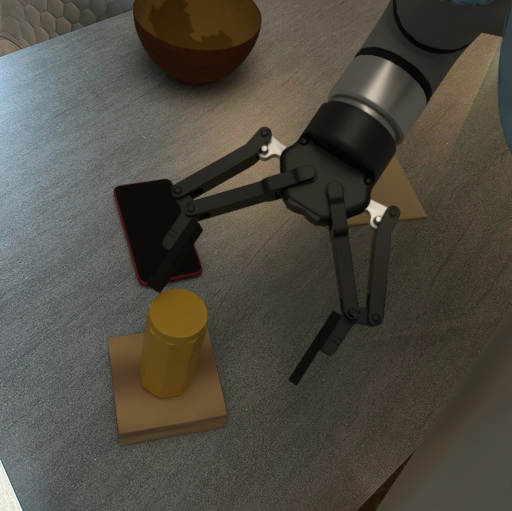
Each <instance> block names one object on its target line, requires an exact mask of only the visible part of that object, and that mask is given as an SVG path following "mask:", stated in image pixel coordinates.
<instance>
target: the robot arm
mask: <svg viewBox="0 0 512 511" xmlns="http://www.w3.org/2000/svg"><path fill="white" fill-rule="evenodd" d="M482 34H486V35H489V36H495V37H500V38H502V40H501V43H500V48H499V56H498V67H497V86H496V87H497V107H498V108H497V110H498V115H499V116H498V117H499V122H500V126H501V129H502V133H503V137H504V140H505V144H506V146H507V148H508V150H509V152H510V154H511V155H512V0H389V1H388V4H387V5H386V7H385V9H384V10H383V13H382V14H381V16H380V17H379V19H378V21H377V22H376V23H375V25H374V27H373V28H372V30H371V31H370V32H369V34H368V37H367V38H366V39H365V41H364V42H363V44H362V46H361V47H360V49H359V50H358V51H357V52H356V54H355V55H354V57H353V58H352V59H351V61H350V62H349V63H348V64H347V66H346V68H345V69H344V70H343V72H342V73H341V75H340V77H339V78H338V79H337V81H336V82H335V84H333V86H332V88H331V90H330V91H329V92H328V94H327V101H326V102H323V103H322V104H320V106H319V107H318V109H317V110H316V112H315V114H314V115H313V117H312V118H311V120H310V121H309V123H308V124H307V126H306V127H305V128H304V129H303V131H302V133H301V134H300V136H299V137H298V139H297V140H296V141H295V142H294V143H293V144H291V145H289V146H286V145H285V144H284V143H282V142H281V141H280V140H278V139H277V137H275V136H273V132H272V129H271V128H270V127H268V126H261V127H260V128H258V129H257V131H256V132H255V133H254V134H253V135H252V136H251V138H250V139H248V141H247V142H246V143H245V144H244V145H241V146H240V147H238V148H236V149H235V150H233V151H231V152H229V153H227V154H226V155H224V156H222V157H220V158H219V159H217V160H215V161H213V162H211V163H210V164H208V165H205V167H202V168H201V169H199V170H197V171H195V172H194V173H192V174H190V175H188V176H187V177H184V178H183V179H181V180H179V181H178V182H175V183H173V186H172V187H171V194H172V196H173V197H174V199H175V201H176V202H177V203H178V205H179V206H180V208H181V213H180V215H179V217H178V218H177V220H176V221H175V223H174V224H173V226H172V227H171V228H170V230H169V231H168V233H167V234H166V236H165V237H164V239H163V242H162V246H163V247H164V248H165V249H167V250H168V251H169V252H168V254H167V255H166V257H165V258H164V259H163V261H162V262H161V264H160V265H159V267H158V268H157V270H156V271H155V273H154V274H153V275H152V277H151V278H150V280H149V281H148V283H147V284H146V285H147V287H148V288H150V289H152V290H154V291H155V292H157V293H158V294H160V293H162V292H163V290H164V289H165V287H166V286H167V284H168V283H169V282H170V281H169V280H170V278H171V277H172V275H173V274H174V273H175V271H176V270H177V268H178V267H179V265H180V264H181V262H182V261H183V259H184V258H185V257H186V255H187V254H188V252H189V251H190V249H191V248H192V246H193V245H195V243H196V242H197V241H198V239H200V238H199V237H200V236H201V235H202V233H203V232H204V229H203V227H202V225H201V223H200V222H202V221H205V220H208V219H212V218H215V217H219V216H222V215H226V214H229V213H232V212H236V211H239V210H242V209H247V208H249V207H253V206H256V205H259V204H264V203H271V202H275V201H278V200H282V202H283V204H284V205H285V208H286V209H288V210H289V211H290V212H292V213H294V214H298V215H301V216H303V217H304V218H305V219H306V220H307V221H308V222H309V223H310V224H311V225H313V226H315V227H326V226H328V228H327V229H328V233H329V240H330V244H331V250H332V257H333V265H334V271H335V279H336V286H337V292H338V293H337V294H338V299H339V307H340V313H339V312H337V311H336V310H332V311H331V312H330V314H329V315H328V316H327V318H326V320H325V321H324V323H323V324H322V326H321V327H320V329H319V331H318V332H317V334H316V335H315V337H314V339H313V340H312V342H311V343H310V345H309V346H308V348H307V349H306V351H305V353H304V354H303V356H302V357H301V359H300V360H299V362H298V363H297V365H296V366H295V368H294V370H293V371H292V373H291V374H290V376H289V377H288V382H290V383H292V384H293V385H294V386H298V385H299V383H300V382H301V380H302V379H303V377H304V376H305V373H306V372H307V371H308V369H309V368H310V366H311V365H312V363H313V362H314V361H315V358H316V357H317V355H318V353H319V352H322V353H323V354H324V355H326V356H327V357H331V356H333V355H334V354H335V353H337V351H338V349H339V347H340V346H341V344H342V343H343V341H344V340H345V339H346V337H347V335H348V334H349V332H350V330H351V328H352V327H353V326H354V325H361V326H366V327H368V328H375V327H378V326H380V325H382V324H383V322H384V319H385V308H386V297H387V284H388V274H389V262H390V252H391V239H392V233H393V231H394V229H395V227H396V225H397V223H398V222H399V221H398V219H399V217H400V209H399V208H398V207H397V206H394V205H392V206H389V207H386V206H384V205H382V204H380V203H378V202H376V201H374V200H372V199H371V191H372V189H373V187H374V186H375V184H376V183H377V181H378V180H379V178H380V177H381V175H382V173H383V172H384V170H385V169H386V167H387V166H388V164H389V163H390V161H391V160H392V158H393V157H394V155H396V153H397V147H398V146H401V145H402V144H403V142H404V141H405V140H406V139H407V136H408V135H409V134H410V132H411V131H412V129H413V127H414V126H415V124H416V123H417V121H418V120H419V118H420V117H421V115H422V114H423V112H424V110H425V109H426V108H427V106H428V104H429V102H430V101H431V98H432V97H433V95H434V94H435V93H436V91H437V89H438V88H439V87H440V85H441V84H442V82H443V81H444V79H445V78H446V77H447V75H448V74H449V72H450V71H451V69H452V68H453V66H454V65H455V63H456V62H457V61H458V60H459V58H460V57H461V56H462V55H463V53H464V52H465V51H466V50H467V49H468V48H469V47H470V46H471V44H473V42H475V41H476V40H477V38H479V36H480V35H482ZM275 158H276V159H278V160H279V173H276V174H272V175H269V176H267V177H264V178H263V179H261V180H257V181H255V182H251V183H249V184H244V185H242V186H238V187H235V188H231V189H228V190H224V191H221V192H218V193H214V194H211V195H207V196H204V197H201V196H202V195H204V194H206V193H207V192H209V191H211V190H213V189H214V188H217V187H218V186H220V185H221V184H223V183H225V182H227V181H229V180H230V179H232V178H234V177H236V176H238V175H240V174H241V173H243V172H244V171H247V170H248V169H250V168H252V167H253V166H254V165H256V164H257V163H258V162H259V161H261V162H268V161H270V160H271V159H275ZM199 197H200V198H199ZM363 212H365V213H367V214H368V216H369V224H368V227H369V229H370V230H372V231H374V232H373V234H372V237H371V243H370V244H371V246H370V252H369V253H370V254H369V265H368V275H367V287H366V298H365V307H360V304H359V298H358V291H357V283H356V277H355V276H356V275H355V270H354V264H353V257H352V256H353V255H352V250H351V242H350V236H349V226H348V223H347V219H348V218H351V217H354V216H356V215H359V214H361V213H363ZM375 511H512V304H511V305H510V307H509V308H508V310H507V312H506V313H505V315H504V316H503V317H502V319H501V320H500V322H499V323H498V325H497V327H496V328H495V329H494V331H493V333H492V334H491V336H490V337H489V339H488V340H487V342H486V343H485V345H484V346H483V348H482V350H481V351H480V352H479V354H478V355H477V357H476V358H475V360H474V361H473V362H472V365H471V366H470V367H469V369H468V370H467V371H466V373H465V375H464V376H463V378H462V379H461V381H460V383H459V384H458V385H457V387H456V388H455V390H454V392H453V393H452V395H451V396H450V398H449V399H448V400H447V402H446V404H445V405H444V406H443V408H442V409H441V411H440V412H439V413H438V415H437V417H436V419H435V420H434V422H433V423H432V425H431V426H430V428H429V429H428V431H427V432H426V434H424V437H423V438H422V440H421V441H420V443H419V444H418V446H417V447H416V449H415V450H414V451H413V453H412V455H411V456H410V458H409V459H408V461H407V462H406V464H405V465H404V467H403V468H402V470H401V471H400V473H399V474H398V476H397V478H396V479H395V480H394V482H393V483H392V485H391V487H390V488H389V489H388V491H387V492H386V494H385V496H384V497H383V499H382V500H381V501H380V503H379V504H378V506H377V507H376V509H375Z"/></svg>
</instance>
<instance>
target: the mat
mask: <svg viewBox="0 0 512 511" xmlns="http://www.w3.org/2000/svg"><path fill="white" fill-rule="evenodd" d="M371 199H372V200H374V201H376V202H378V203H380V204H382V205H384V206H386V207H389V206H392V205H394V206H397V207H398V208H399V209H400V217H399V219H398V221H397V222H401V221H403V222H404V221H412V220H420V219H421V220H422V219H427V218H428V215H427V213H426V211H425V209H424V207H423V205H422V203H421V201H420V198H419V197H418V195H417V194H416V192H415V189H414V187H413V185H412V184H411V182H410V180H409V178H408V176H407V174H406V172H405V170H404V169H403V166H402V165H401V163H400V161H399V158H398V157H397V155H396V154H395V155H394V157H393V158H392V160H391V161H390V163H389V164H388V166H387V167H386V169H385V170H384V172H383V173H382V175H381V177H380V178H379V180H378V181H377V183H376V184H375V186H374V187H373V189H372V191H371ZM347 223H348V227H353V226H354V227H355V226H363V225H369V216H368V214H367V213H365V212H363V213H361V214H359V215H356V216H354V217H351V218H348V219H347ZM325 228H326V229H329V228H328V226H325Z"/></svg>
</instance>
